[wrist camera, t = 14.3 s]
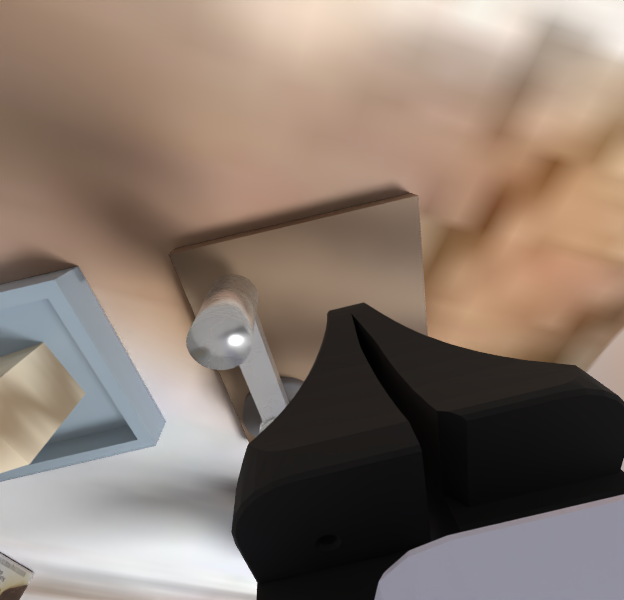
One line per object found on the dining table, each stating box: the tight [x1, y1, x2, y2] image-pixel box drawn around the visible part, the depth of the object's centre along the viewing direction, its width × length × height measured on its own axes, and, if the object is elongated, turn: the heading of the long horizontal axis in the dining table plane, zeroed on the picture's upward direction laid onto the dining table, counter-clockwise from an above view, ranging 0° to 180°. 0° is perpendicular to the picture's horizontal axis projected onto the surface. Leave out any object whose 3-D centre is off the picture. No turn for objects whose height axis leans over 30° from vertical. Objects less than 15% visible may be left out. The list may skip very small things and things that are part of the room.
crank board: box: [169, 193, 428, 443], centre depth 20 cm, size 15×13×2 cm
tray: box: [0, 266, 166, 482], centre depth 19 cm, size 12×12×2 cm
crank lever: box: [186, 274, 289, 434], centre depth 16 cm, size 12×3×5 cm, turn 14°
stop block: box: [0, 342, 86, 473], centre depth 17 cm, size 4×4×5 cm
